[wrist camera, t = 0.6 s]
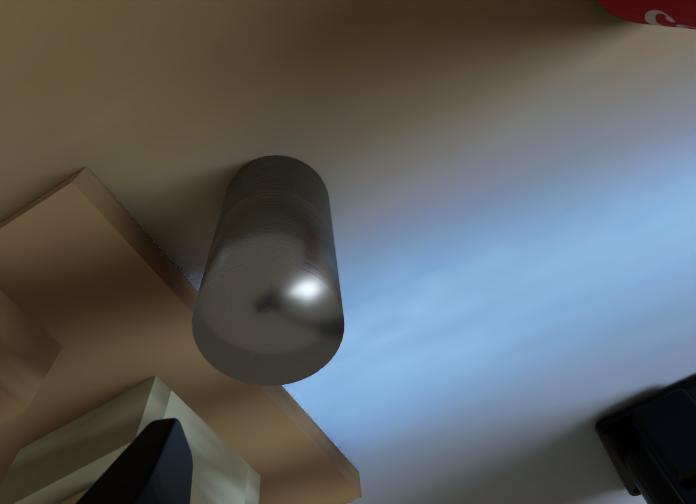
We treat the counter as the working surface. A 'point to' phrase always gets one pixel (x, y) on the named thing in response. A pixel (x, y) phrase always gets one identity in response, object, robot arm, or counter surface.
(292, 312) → the cylinder
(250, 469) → the dock
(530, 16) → the counter surface
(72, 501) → the lock bolt
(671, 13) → the beverage can
